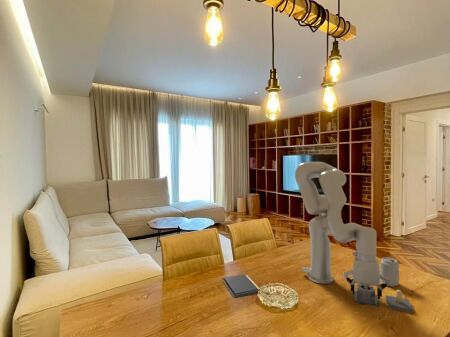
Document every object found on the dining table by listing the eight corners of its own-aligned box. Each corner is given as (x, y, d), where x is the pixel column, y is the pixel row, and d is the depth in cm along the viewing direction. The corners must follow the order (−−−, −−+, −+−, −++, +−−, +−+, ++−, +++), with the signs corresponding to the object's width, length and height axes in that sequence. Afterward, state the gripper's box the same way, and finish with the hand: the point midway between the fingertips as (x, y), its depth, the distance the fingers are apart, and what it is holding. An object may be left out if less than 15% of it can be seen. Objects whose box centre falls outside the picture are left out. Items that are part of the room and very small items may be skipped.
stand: (354, 302, 107) (354, 288, 107) (353, 292, 115) (353, 279, 115) (379, 307, 103) (379, 292, 103) (376, 296, 111) (376, 282, 111)
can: (401, 288, 118) (402, 262, 118) (384, 286, 120) (384, 261, 119) (394, 280, 126) (394, 256, 125) (377, 279, 127) (378, 255, 127)
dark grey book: (220, 276, 130) (247, 271, 134) (220, 279, 130) (247, 275, 134) (232, 296, 111) (264, 290, 115) (232, 300, 111) (264, 294, 115)
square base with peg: (389, 308, 102) (389, 292, 102) (385, 298, 110) (385, 283, 109) (413, 313, 99) (413, 297, 99) (407, 302, 106) (408, 287, 106)
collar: (357, 299, 107) (357, 289, 107) (356, 292, 113) (356, 282, 113) (375, 303, 105) (375, 292, 105) (373, 295, 111) (373, 285, 111)
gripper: (344, 256, 108) (343, 295, 109) (391, 262, 102) (391, 304, 102) (343, 250, 115) (343, 287, 116) (388, 256, 108) (387, 295, 109)
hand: (365, 295), depth 109 cm, fingers open, 9 cm apart
